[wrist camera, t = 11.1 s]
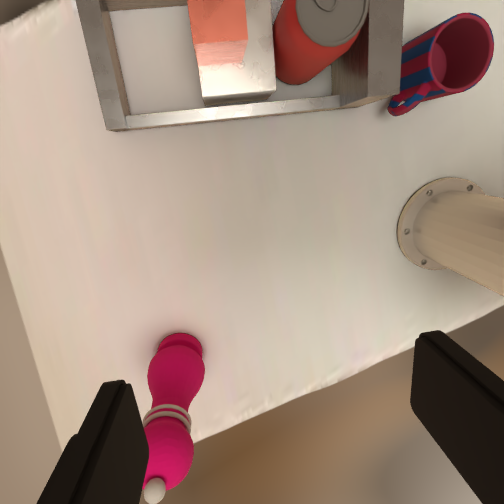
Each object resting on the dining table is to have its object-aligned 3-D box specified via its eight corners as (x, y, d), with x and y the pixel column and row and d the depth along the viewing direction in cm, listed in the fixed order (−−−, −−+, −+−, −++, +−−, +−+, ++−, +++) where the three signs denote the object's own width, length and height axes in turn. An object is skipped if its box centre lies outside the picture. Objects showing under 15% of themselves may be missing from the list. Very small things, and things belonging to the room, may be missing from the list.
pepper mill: (201, 326, 43) (189, 462, 24) (209, 368, 45) (203, 522, 26) (149, 333, 43) (96, 479, 24) (160, 375, 45) (118, 538, 26)
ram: (259, 4, 32) (282, -78, 20) (266, 99, 35) (290, 74, 23) (191, 9, 31) (177, -72, 20) (205, 105, 34) (198, 83, 23)
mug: (454, 75, 36) (505, 59, 30) (386, 134, 38) (421, 131, 31) (427, 23, 34) (475, -6, 28) (356, 88, 36) (387, 74, 29)
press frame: (357, -22, 32) (408, -84, 24) (356, 107, 36) (399, 93, 28) (84, -3, 30) (33, -62, 22) (115, 131, 34) (82, 125, 26)
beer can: (283, 3, 32) (319, -78, 21) (334, 39, 34) (393, -18, 22) (254, 65, 34) (272, 21, 22) (304, 97, 35) (345, 71, 24)
